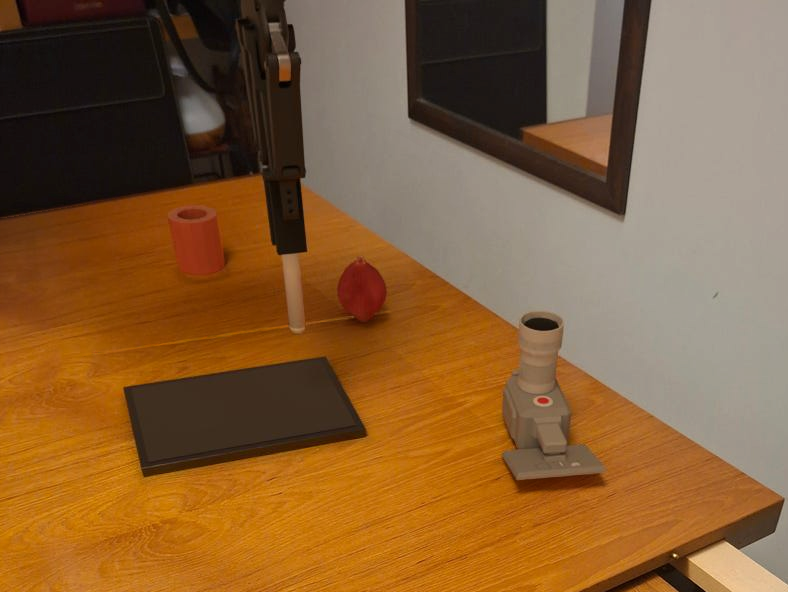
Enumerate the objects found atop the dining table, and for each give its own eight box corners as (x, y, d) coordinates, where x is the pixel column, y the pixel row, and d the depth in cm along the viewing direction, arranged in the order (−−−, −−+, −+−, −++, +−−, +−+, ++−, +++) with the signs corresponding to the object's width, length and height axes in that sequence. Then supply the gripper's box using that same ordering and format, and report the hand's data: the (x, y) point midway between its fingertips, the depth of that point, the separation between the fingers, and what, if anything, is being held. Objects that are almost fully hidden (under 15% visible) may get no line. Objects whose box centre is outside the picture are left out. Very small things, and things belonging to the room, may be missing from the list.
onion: (330, 319, 110) (324, 253, 104) (367, 306, 113) (363, 241, 107) (359, 336, 107) (354, 269, 101) (396, 322, 110) (394, 256, 104)
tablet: (125, 395, 96) (122, 386, 95) (326, 363, 102) (325, 355, 101) (143, 477, 85) (140, 467, 85) (366, 436, 91) (365, 427, 91)
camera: (577, 303, 88) (621, 381, 78) (564, 408, 97) (603, 491, 86) (490, 307, 87) (523, 388, 77) (485, 414, 95) (515, 499, 85)
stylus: (288, 330, 90) (269, 157, 79) (304, 328, 91) (288, 156, 79) (291, 337, 89) (273, 163, 78) (308, 335, 90) (292, 162, 78)
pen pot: (175, 262, 120) (164, 207, 115) (221, 257, 122) (212, 203, 117) (182, 280, 116) (170, 225, 111) (229, 275, 118) (220, 219, 113)
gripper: (328, -56, 64) (349, 274, 80) (281, -86, 73) (309, 214, 90) (221, -54, 61) (265, 284, 78) (187, -86, 71) (234, 222, 88)
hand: (289, 246), depth 84 cm, fingers closed on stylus, 2 cm apart
